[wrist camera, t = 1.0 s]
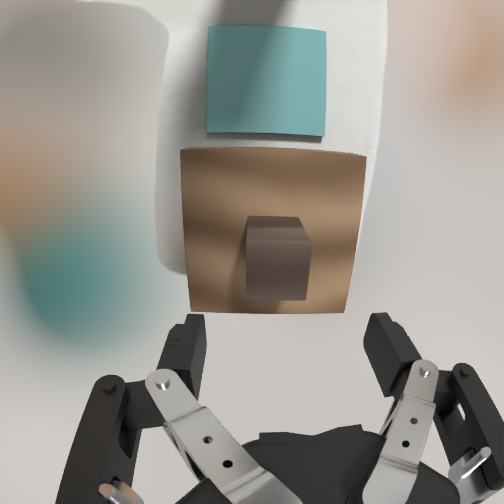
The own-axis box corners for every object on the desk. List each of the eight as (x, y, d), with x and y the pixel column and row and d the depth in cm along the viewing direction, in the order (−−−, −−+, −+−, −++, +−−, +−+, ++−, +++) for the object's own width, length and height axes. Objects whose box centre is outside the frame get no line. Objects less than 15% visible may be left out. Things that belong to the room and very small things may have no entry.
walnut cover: (190, 147, 24) (154, 156, 15) (352, 153, 24) (400, 165, 15) (197, 292, 30) (177, 354, 21) (335, 294, 30) (361, 354, 21)
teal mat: (209, 28, 29) (208, 26, 28) (323, 33, 29) (325, 31, 28) (207, 132, 35) (206, 132, 34) (322, 136, 35) (324, 136, 34)
